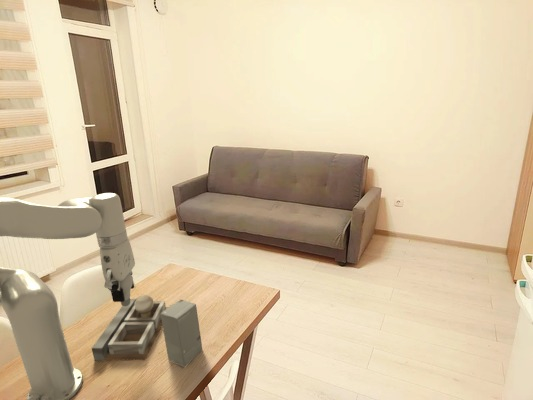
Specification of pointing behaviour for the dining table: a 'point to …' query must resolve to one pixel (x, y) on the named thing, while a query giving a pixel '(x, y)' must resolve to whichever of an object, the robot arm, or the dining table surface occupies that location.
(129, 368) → the dining table surface
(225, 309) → the dining table surface
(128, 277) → the lightbulb
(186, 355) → the skincare box
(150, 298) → the compartment tray
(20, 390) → the dining table surface
